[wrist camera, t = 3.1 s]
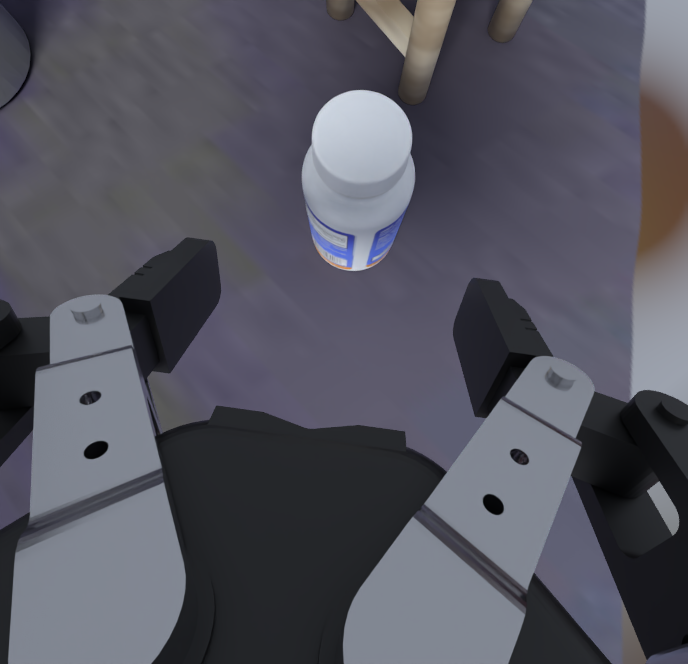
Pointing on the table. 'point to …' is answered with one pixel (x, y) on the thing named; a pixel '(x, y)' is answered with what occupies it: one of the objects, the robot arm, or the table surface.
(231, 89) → the table surface
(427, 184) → the table surface
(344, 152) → the pill bottle
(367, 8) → the small wooden stool
